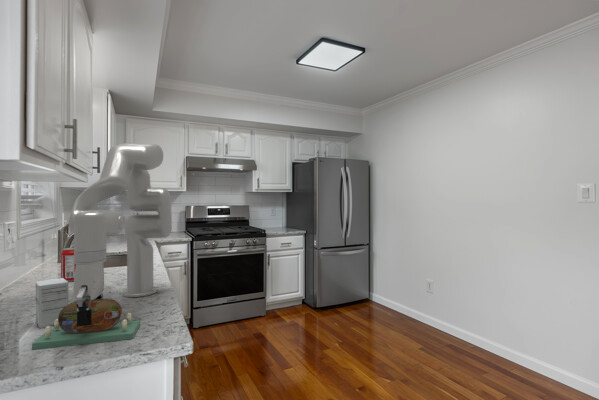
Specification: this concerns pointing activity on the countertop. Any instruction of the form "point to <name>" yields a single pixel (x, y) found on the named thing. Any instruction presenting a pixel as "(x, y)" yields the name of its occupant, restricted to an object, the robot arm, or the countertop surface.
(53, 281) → the supplement box
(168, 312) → the countertop surface
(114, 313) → the tin
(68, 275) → the soda can
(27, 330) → the countertop surface
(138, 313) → the countertop surface
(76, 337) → the green peg board
